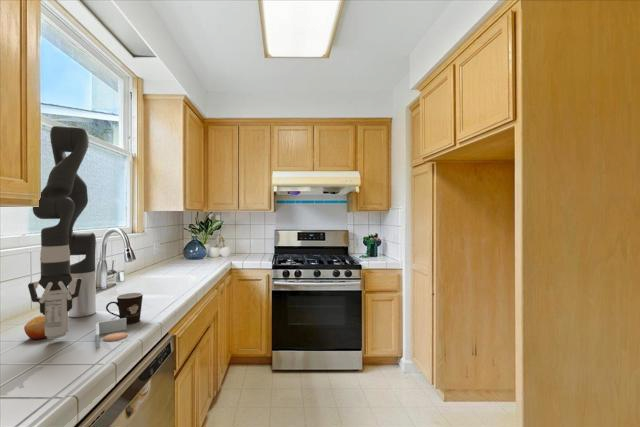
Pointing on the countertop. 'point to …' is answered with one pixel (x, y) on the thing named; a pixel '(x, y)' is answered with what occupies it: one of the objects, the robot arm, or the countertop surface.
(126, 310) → the coffee mug
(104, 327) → the acrylic fence
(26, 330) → the fruit
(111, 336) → the pad
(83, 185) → the robot arm
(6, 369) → the countertop surface
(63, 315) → the energy drink can
